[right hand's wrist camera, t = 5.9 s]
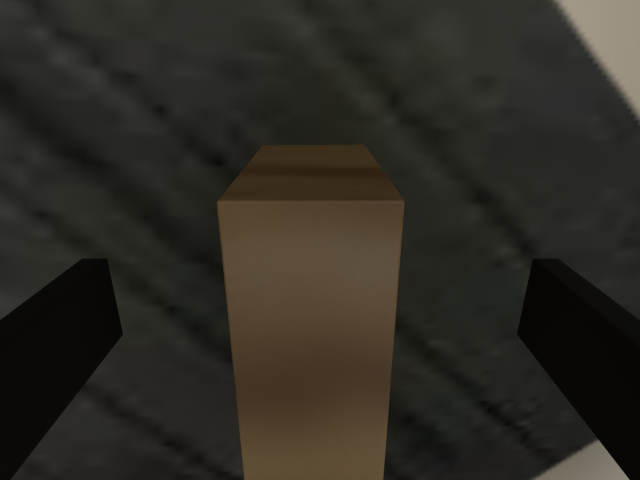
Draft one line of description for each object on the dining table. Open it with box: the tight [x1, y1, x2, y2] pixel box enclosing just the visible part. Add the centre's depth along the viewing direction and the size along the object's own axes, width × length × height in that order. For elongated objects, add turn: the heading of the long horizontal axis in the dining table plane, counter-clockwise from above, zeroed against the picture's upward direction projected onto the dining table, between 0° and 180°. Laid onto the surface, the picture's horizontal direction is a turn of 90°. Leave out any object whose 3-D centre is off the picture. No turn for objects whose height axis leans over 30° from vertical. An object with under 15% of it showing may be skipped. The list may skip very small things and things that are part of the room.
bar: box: [217, 145, 405, 480], centre depth 19 cm, size 24×5×9 cm, turn 0°
